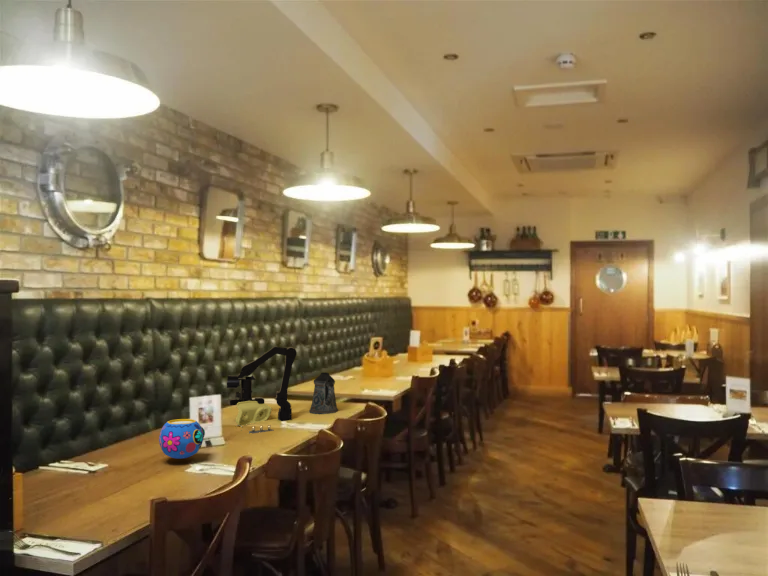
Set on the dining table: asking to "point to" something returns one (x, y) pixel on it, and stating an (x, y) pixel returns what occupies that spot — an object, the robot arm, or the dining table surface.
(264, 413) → the plastic component
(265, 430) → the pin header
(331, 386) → the beer stein
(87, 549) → the dining table surface
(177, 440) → the ceramic pot
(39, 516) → the dining table surface
